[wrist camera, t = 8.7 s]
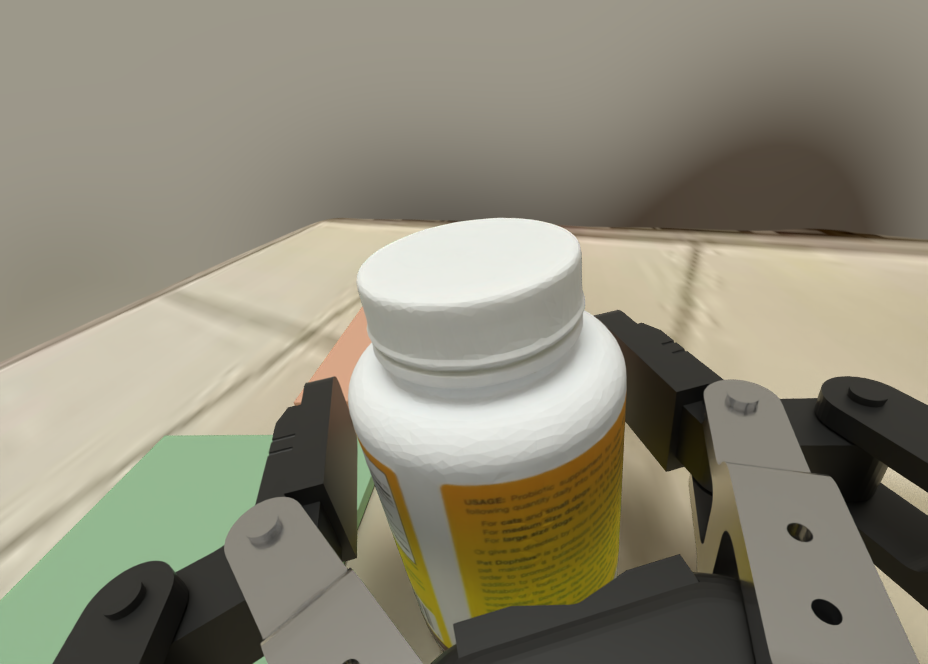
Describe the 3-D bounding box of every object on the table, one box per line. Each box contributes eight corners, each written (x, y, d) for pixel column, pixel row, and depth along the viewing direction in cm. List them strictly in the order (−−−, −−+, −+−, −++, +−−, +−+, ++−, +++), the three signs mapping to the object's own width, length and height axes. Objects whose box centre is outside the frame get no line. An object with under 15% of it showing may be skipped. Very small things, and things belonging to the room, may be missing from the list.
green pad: (169, 443, 21) (164, 435, 20) (390, 443, 18) (387, 434, 18) (-132, 755, 11) (-148, 748, 11) (243, 827, 9) (233, 820, 9)
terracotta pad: (364, 312, 30) (362, 305, 29) (510, 303, 28) (509, 296, 28) (297, 410, 21) (293, 402, 21) (500, 406, 19) (498, 398, 19)
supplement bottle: (638, 541, 13) (670, 206, 8) (573, 755, 9) (557, 375, 4) (480, 478, 16) (431, 203, 11) (382, 622, 12) (235, 301, 7)
